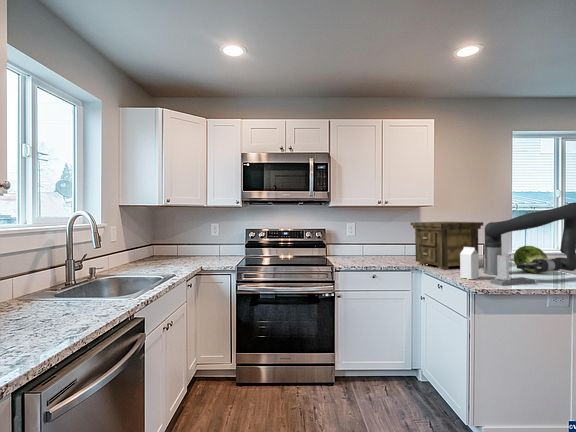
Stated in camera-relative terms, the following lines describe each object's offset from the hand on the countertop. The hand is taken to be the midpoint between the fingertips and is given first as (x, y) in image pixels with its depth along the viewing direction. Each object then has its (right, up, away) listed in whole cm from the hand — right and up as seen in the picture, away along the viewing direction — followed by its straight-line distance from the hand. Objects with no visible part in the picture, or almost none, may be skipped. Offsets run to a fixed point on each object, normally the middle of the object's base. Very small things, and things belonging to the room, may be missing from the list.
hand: (517, 266), depth 191 cm
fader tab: (-10, -7, -2) cm, 12 cm away
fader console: (-3, -9, -1) cm, 10 cm away
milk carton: (-20, -9, +14) cm, 26 cm away
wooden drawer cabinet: (-11, -9, +63) cm, 65 cm away
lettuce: (+30, -9, +30) cm, 44 cm away
